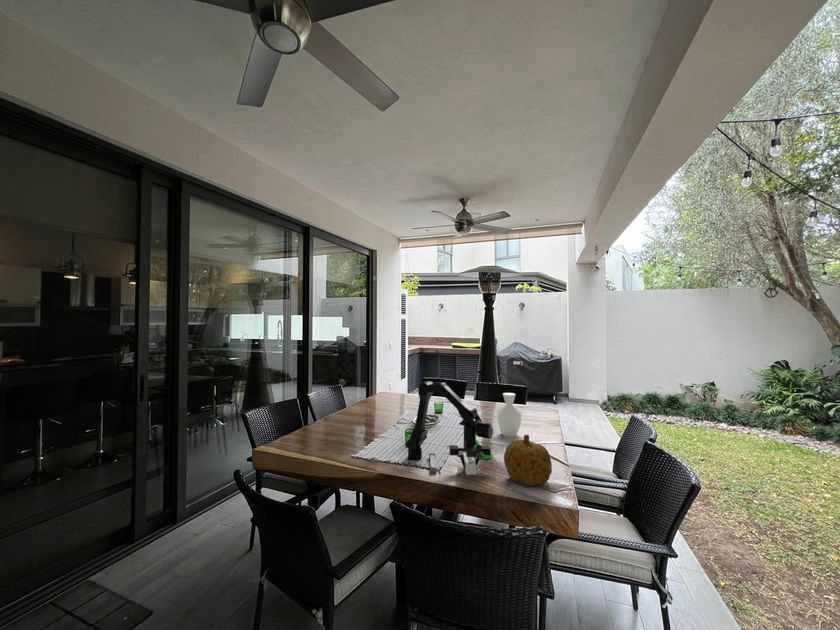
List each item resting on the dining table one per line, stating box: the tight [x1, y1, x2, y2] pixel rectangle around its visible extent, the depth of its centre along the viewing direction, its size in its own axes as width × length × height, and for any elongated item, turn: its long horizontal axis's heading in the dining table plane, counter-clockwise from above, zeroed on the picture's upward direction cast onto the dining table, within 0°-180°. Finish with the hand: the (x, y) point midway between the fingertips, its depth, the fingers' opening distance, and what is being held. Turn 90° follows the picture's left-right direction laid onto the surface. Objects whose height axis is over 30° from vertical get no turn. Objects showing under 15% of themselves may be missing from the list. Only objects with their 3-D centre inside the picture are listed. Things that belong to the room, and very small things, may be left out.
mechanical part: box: [474, 439, 493, 460], centre depth 182 cm, size 12×6×8 cm, turn 73°
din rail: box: [428, 452, 438, 475], centre depth 169 cm, size 3×18×3 cm, turn 0°
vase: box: [496, 392, 522, 437], centre depth 218 cm, size 14×14×25 cm
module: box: [464, 456, 477, 476], centre depth 164 cm, size 5×8×5 cm, turn 0°
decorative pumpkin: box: [503, 434, 553, 487], centre depth 154 cm, size 20×21×20 cm
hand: (469, 468), depth 164 cm, fingers closed on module, 5 cm apart
